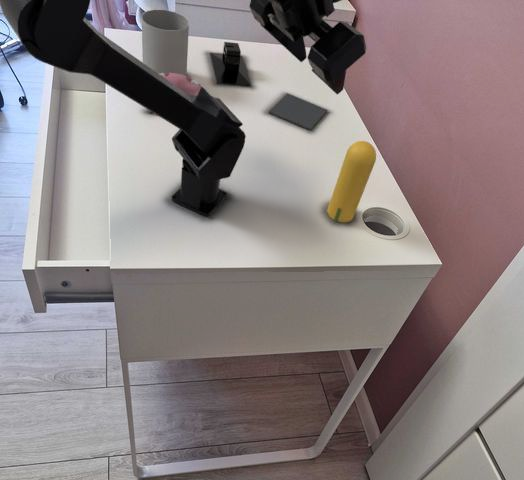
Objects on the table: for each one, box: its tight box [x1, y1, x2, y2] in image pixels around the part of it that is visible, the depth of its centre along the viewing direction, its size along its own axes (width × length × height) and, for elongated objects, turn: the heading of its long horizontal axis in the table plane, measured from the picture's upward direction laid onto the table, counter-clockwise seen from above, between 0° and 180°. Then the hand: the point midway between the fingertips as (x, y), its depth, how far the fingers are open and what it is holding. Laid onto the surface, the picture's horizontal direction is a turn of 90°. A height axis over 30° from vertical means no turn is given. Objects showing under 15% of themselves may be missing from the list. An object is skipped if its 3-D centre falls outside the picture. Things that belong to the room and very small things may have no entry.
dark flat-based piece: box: [209, 41, 252, 88], centre depth 101 cm, size 12×7×5 cm, turn 10°
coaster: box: [268, 92, 328, 132], centre depth 97 cm, size 9×9×1 cm
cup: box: [141, 9, 190, 76], centre depth 93 cm, size 8×8×10 cm
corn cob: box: [327, 140, 377, 223], centre depth 76 cm, size 5×4×12 cm
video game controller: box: [146, 73, 203, 113], centre depth 89 cm, size 10×5×7 cm, turn 84°
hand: (321, 75), depth 71 cm, fingers open, 9 cm apart
